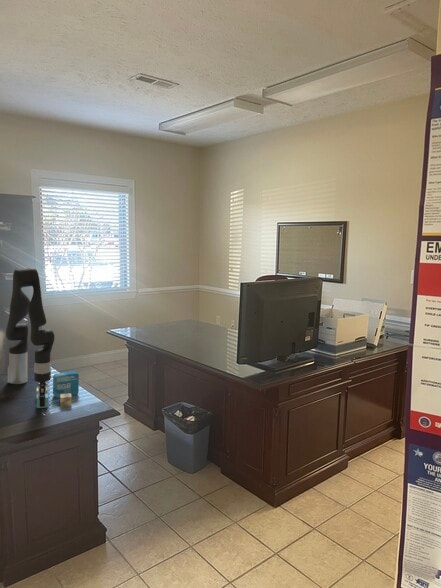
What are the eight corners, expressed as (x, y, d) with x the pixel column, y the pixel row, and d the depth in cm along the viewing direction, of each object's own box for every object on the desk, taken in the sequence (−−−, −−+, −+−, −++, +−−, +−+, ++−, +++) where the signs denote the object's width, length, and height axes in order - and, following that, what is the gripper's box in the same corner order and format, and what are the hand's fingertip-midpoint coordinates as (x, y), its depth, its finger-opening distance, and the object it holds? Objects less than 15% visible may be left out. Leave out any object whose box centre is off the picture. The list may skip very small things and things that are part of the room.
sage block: (36, 400, 216) (36, 391, 216) (36, 396, 221) (36, 387, 220) (47, 399, 218) (47, 390, 217) (47, 396, 223) (47, 386, 222)
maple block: (60, 407, 210) (60, 397, 209) (60, 403, 214) (60, 394, 213) (71, 406, 211) (71, 396, 211) (70, 402, 216) (70, 393, 215)
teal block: (36, 408, 206) (36, 398, 205) (36, 404, 211) (36, 394, 210) (47, 407, 208) (47, 397, 207) (47, 403, 213) (47, 393, 212)
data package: (55, 398, 219) (55, 376, 218) (52, 396, 223) (52, 373, 221) (78, 394, 227) (78, 373, 225) (75, 392, 230) (76, 370, 229)
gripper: (34, 366, 212) (34, 399, 214) (33, 375, 199) (33, 410, 201) (50, 365, 215) (50, 398, 217) (51, 374, 202) (50, 409, 204)
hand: (42, 403), depth 209 cm, fingers closed on teal block, 5 cm apart
